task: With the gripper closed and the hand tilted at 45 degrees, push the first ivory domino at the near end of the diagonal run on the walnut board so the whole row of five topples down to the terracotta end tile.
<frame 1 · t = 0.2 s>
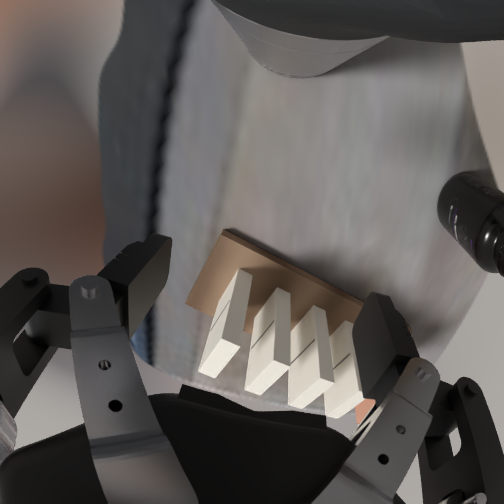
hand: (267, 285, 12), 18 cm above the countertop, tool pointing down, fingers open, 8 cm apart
supplement bottle: (459, 202, 26), on the countertop
domino 3: (306, 322, 33), point 1 cm above the countertop, touching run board
domino 1: (235, 288, 32), point 1 cm above the countertop, touching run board
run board: (306, 315, 34), on the countertop
domino 4: (337, 336, 34), point 1 cm above the countertop, touching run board
domino 5: (364, 348, 35), point 1 cm above the countertop, touching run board
domino 2: (271, 306, 33), point 1 cm above the countertop, touching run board
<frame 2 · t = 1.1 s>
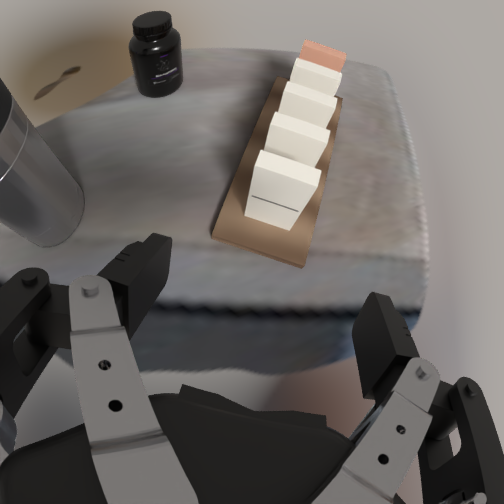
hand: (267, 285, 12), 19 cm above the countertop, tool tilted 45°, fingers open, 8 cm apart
supplement bottle: (161, 84, 38), on the countertop
domino 3: (289, 151, 35), point 1 cm above the countertop, touching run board
domino 1: (269, 216, 32), point 1 cm above the countertop, touching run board
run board: (287, 156, 36), on the countertop
domino 4: (297, 125, 36), point 1 cm above the countertop, touching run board
domino 5: (305, 103, 37), point 1 cm above the countertop, touching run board
domino 2: (279, 182, 33), point 1 cm above the countertop, touching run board
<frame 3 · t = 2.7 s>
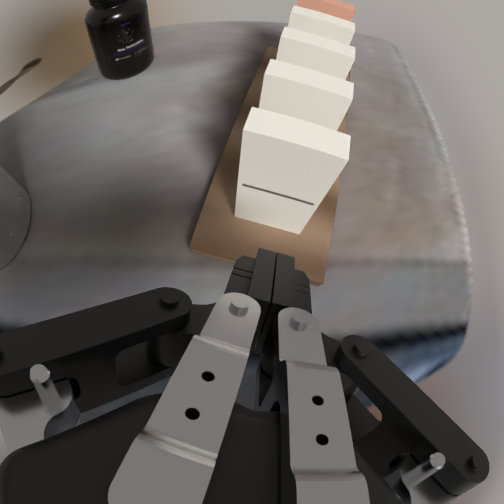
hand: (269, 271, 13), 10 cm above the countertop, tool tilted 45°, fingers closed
supplement bottle: (128, 65, 29), on the countertop
domino 3: (291, 128, 25), point 1 cm above the countertop, touching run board
domino 1: (269, 215, 23), point 1 cm above the countertop, touching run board
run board: (289, 136, 27), on the countertop
domino 4: (299, 98, 27), point 1 cm above the countertop, touching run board
domino 5: (305, 73, 28), point 1 cm above the countertop, touching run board
domino 2: (281, 168, 24), point 1 cm above the countertop, touching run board
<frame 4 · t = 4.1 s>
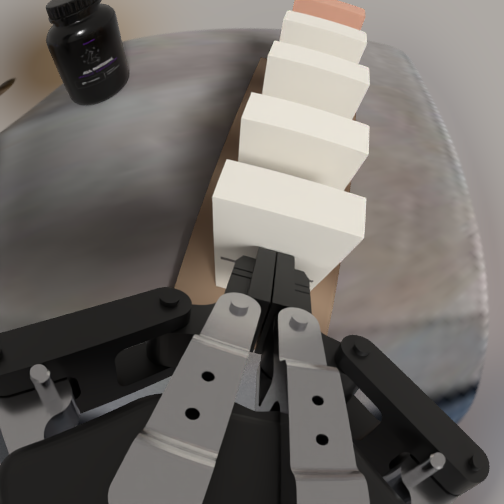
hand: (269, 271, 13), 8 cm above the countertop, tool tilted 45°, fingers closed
supplement bottle: (101, 86, 25), on the countertop
domino 3: (287, 166, 22), point 1 cm above the countertop, touching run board
domino 1: (258, 284, 19), point 1 cm above the countertop, tilted 5°, touching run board
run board: (284, 174, 23), on the countertop
domino 4: (296, 124, 23), point 1 cm above the countertop, touching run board
domino 5: (304, 92, 24), point 1 cm above the countertop, touching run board
domino 2: (273, 220, 20), point 1 cm above the countertop, touching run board
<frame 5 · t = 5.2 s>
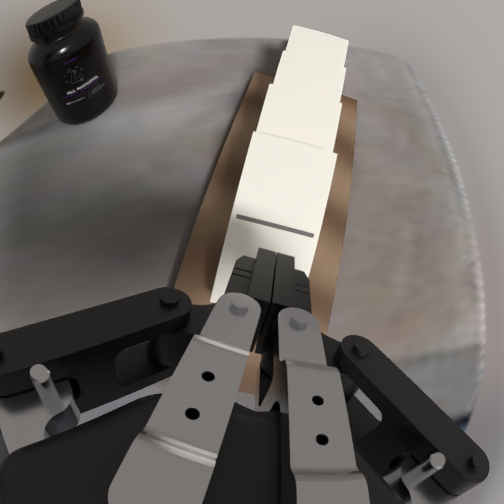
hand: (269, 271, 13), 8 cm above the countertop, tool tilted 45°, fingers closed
supplement bottle: (88, 103, 24), on the countertop
domino 3: (284, 178, 20), point 2 cm above the countertop, tilted 69°, touching domino 2, domino 4, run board
domino 1: (253, 309, 18), point 2 cm above the countertop, tilted 69°, touching domino 2, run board
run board: (277, 205, 22), on the countertop
domino 4: (296, 128, 22), point 2 cm above the countertop, tilted 69°, touching domino 3, domino 5
domino 2: (270, 238, 19), point 2 cm above the countertop, tilted 69°, touching domino 1, domino 3, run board
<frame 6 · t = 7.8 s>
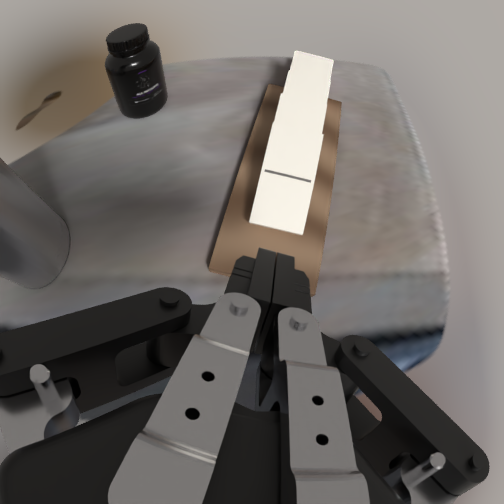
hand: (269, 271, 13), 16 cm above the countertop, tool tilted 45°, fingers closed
supplement bottle: (144, 103, 36), on the countertop
domino 3: (292, 153, 31), point 2 cm above the countertop, tilted 69°, touching domino 2, domino 4, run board
domino 1: (275, 228, 28), point 2 cm above the countertop, tilted 69°, touching domino 2, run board
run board: (287, 171, 33), on the countertop
domino 4: (298, 122, 33), point 2 cm above the countertop, tilted 69°, touching domino 3, domino 5
domino 2: (284, 187, 30), point 2 cm above the countertop, tilted 69°, touching domino 1, domino 3, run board
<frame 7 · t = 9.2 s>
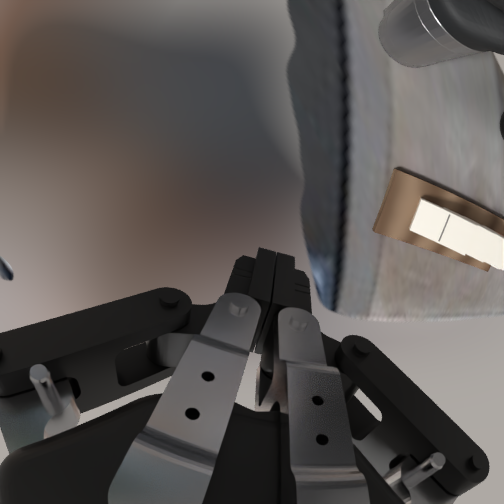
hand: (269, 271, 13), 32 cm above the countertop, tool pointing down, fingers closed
domino 3: (459, 230, 40), point 2 cm above the countertop, tilted 69°, touching domino 2, domino 4, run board
domino 1: (415, 213, 40), point 2 cm above the countertop, tilted 69°, touching domino 2, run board
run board: (448, 224, 41), on the countertop
domino 2: (438, 222, 40), point 2 cm above the countertop, tilted 69°, touching domino 1, domino 3, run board
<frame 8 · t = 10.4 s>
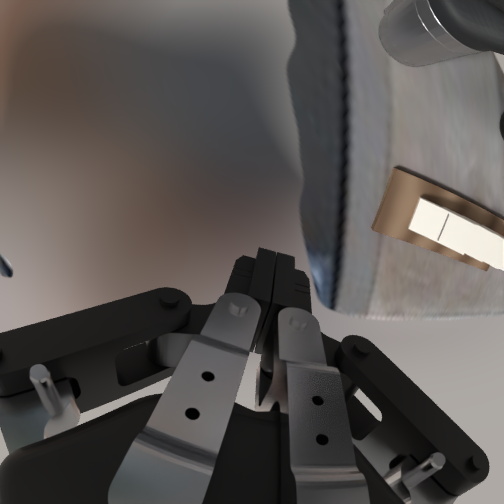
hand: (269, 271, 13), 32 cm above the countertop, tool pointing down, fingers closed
domino 3: (458, 230, 40), point 2 cm above the countertop, tilted 69°, touching domino 2, domino 4, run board
domino 1: (414, 212, 40), point 2 cm above the countertop, tilted 69°, touching domino 2, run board
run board: (447, 223, 42), on the countertop
domino 2: (437, 221, 40), point 2 cm above the countertop, tilted 69°, touching domino 1, domino 3, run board
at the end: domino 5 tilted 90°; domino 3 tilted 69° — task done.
